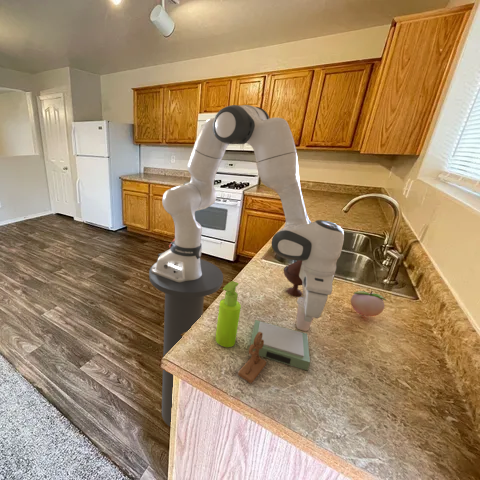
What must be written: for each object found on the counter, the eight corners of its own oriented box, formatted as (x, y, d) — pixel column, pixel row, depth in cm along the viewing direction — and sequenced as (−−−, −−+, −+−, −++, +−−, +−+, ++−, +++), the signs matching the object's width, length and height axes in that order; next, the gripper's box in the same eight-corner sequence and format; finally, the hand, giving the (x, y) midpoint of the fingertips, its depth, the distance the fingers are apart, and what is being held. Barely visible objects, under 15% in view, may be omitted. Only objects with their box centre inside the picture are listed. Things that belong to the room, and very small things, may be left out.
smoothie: (289, 319, 90) (297, 283, 85) (309, 322, 89) (319, 286, 84) (294, 332, 84) (304, 294, 79) (316, 335, 83) (327, 297, 78)
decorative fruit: (353, 321, 90) (362, 296, 86) (344, 307, 97) (351, 283, 94) (385, 325, 88) (395, 300, 84) (373, 311, 95) (382, 287, 92)
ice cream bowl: (289, 282, 113) (296, 250, 108) (315, 295, 104) (324, 261, 99) (273, 289, 108) (280, 256, 102) (300, 303, 99) (309, 267, 93)
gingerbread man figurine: (253, 356, 75) (259, 321, 70) (266, 364, 72) (274, 328, 68) (237, 374, 69) (243, 337, 64) (251, 383, 66) (258, 346, 62)
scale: (248, 353, 76) (250, 343, 74) (253, 327, 86) (255, 318, 85) (307, 372, 70) (310, 361, 69) (305, 341, 80) (307, 331, 79)
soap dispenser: (209, 342, 79) (216, 284, 72) (221, 330, 84) (228, 275, 77) (227, 352, 76) (235, 292, 68) (238, 340, 80) (247, 283, 73)
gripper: (302, 258, 89) (294, 293, 94) (306, 287, 72) (296, 328, 77) (324, 262, 87) (314, 298, 92) (333, 293, 70) (320, 335, 75)
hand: (306, 312), depth 84 cm, fingers open, 7 cm apart
